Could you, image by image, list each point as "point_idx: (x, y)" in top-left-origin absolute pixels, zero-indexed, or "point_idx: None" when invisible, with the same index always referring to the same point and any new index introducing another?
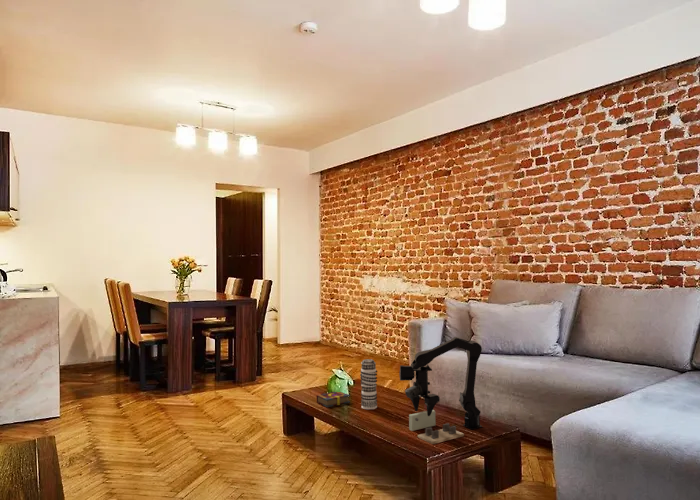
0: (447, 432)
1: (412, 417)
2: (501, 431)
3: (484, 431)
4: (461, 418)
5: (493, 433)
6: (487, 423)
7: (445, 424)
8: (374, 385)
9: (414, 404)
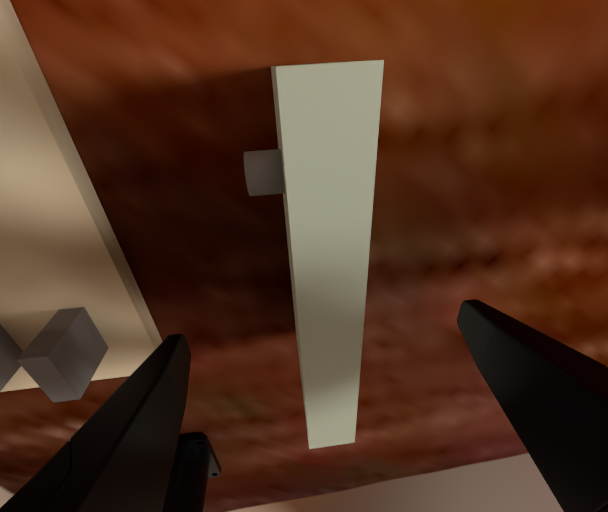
0: (36, 320)
1: (276, 92)
2: None
3: None
4: (315, 459)
5: None
6: None
7: (40, 374)
8: None
9: (559, 376)
